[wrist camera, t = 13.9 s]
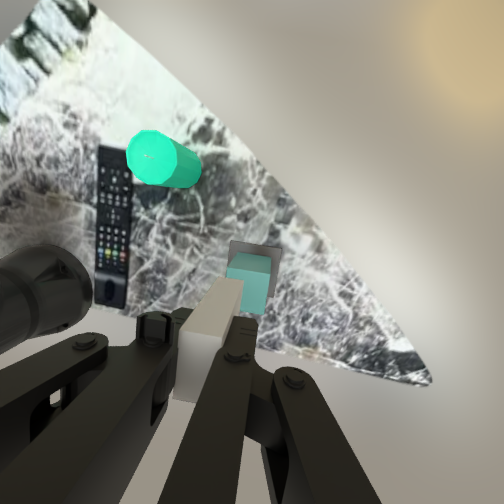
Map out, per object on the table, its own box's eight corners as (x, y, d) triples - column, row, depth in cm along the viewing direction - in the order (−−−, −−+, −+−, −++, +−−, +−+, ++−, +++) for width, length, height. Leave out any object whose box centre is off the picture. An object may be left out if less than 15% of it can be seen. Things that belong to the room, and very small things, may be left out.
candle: (157, 154, 40) (110, 135, 28) (194, 142, 39) (161, 117, 28) (170, 193, 41) (129, 190, 29) (207, 182, 40) (179, 175, 29)
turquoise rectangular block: (233, 283, 42) (221, 307, 33) (238, 252, 41) (227, 267, 32) (266, 289, 42) (263, 314, 32) (271, 257, 41) (270, 274, 31)
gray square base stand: (224, 288, 43) (210, 313, 34) (231, 240, 42) (217, 252, 32) (273, 296, 43) (273, 324, 33) (281, 248, 41) (283, 263, 32)
